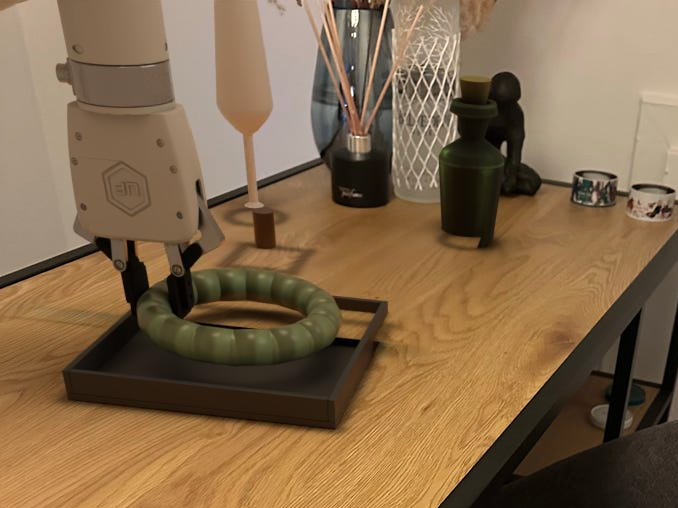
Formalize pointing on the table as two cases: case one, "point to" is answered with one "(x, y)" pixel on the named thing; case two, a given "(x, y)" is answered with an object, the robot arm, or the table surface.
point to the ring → (242, 343)
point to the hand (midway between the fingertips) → (162, 311)
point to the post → (264, 228)
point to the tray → (225, 376)
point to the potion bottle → (471, 166)
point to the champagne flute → (242, 76)
